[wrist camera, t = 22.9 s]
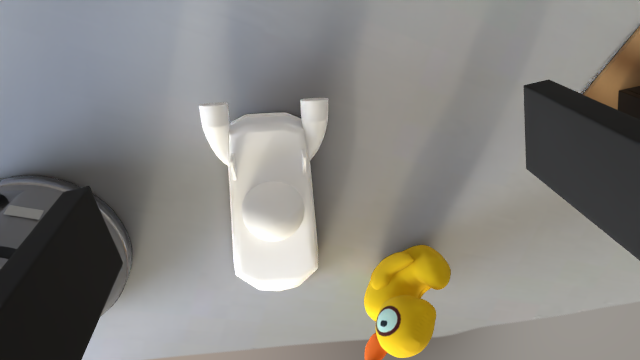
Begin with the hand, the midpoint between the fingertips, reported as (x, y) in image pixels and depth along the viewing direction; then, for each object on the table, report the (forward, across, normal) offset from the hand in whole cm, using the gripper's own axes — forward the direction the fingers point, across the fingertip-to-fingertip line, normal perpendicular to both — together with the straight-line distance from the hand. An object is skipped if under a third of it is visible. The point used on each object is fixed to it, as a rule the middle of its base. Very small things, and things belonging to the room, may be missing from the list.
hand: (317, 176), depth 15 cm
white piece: (+29, -4, -14) cm, 32 cm away
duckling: (+29, +6, -25) cm, 39 cm away
